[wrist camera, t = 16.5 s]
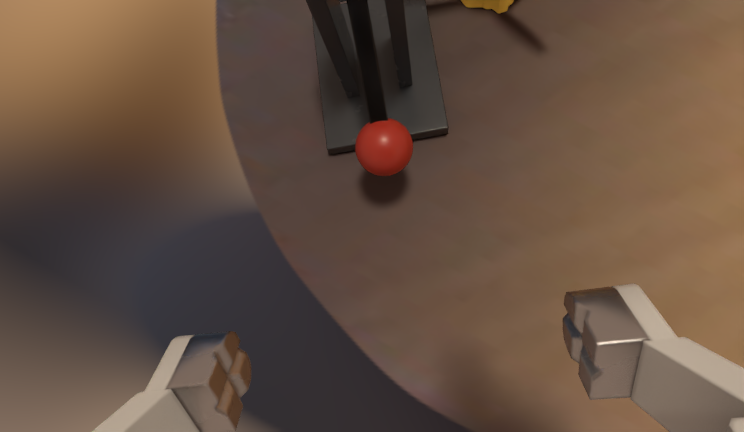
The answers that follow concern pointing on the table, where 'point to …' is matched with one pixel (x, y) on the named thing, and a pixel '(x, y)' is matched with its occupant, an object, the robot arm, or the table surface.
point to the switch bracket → (397, 68)
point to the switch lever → (376, 104)
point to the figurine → (489, 4)
